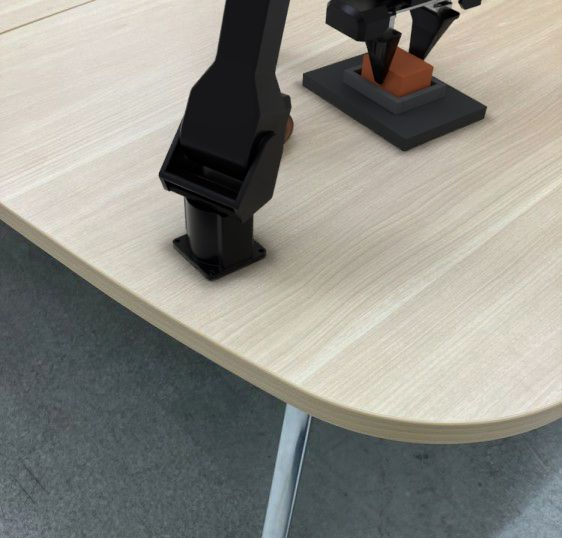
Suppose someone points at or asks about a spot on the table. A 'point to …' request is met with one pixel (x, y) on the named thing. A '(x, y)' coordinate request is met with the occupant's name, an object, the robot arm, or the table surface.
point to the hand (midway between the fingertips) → (395, 76)
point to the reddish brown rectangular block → (402, 74)
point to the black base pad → (394, 104)
